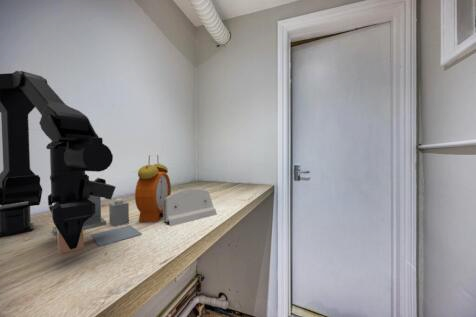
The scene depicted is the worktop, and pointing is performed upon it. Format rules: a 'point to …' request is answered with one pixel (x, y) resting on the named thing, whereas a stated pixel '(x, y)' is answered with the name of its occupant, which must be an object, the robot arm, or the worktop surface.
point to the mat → (115, 235)
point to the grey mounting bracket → (187, 206)
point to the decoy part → (119, 212)
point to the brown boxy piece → (63, 246)
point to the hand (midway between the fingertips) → (70, 241)
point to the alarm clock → (152, 191)
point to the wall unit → (95, 219)
